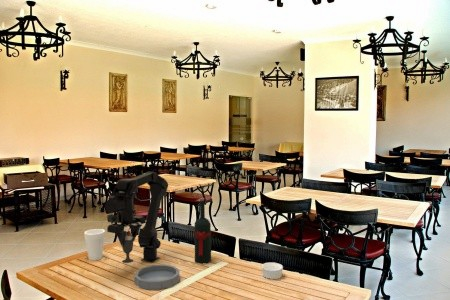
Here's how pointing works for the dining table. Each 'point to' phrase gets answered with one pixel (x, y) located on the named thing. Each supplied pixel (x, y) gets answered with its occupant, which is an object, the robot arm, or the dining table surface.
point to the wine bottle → (202, 237)
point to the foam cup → (94, 243)
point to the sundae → (128, 246)
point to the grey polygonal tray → (157, 277)
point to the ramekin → (272, 270)
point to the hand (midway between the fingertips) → (127, 243)
